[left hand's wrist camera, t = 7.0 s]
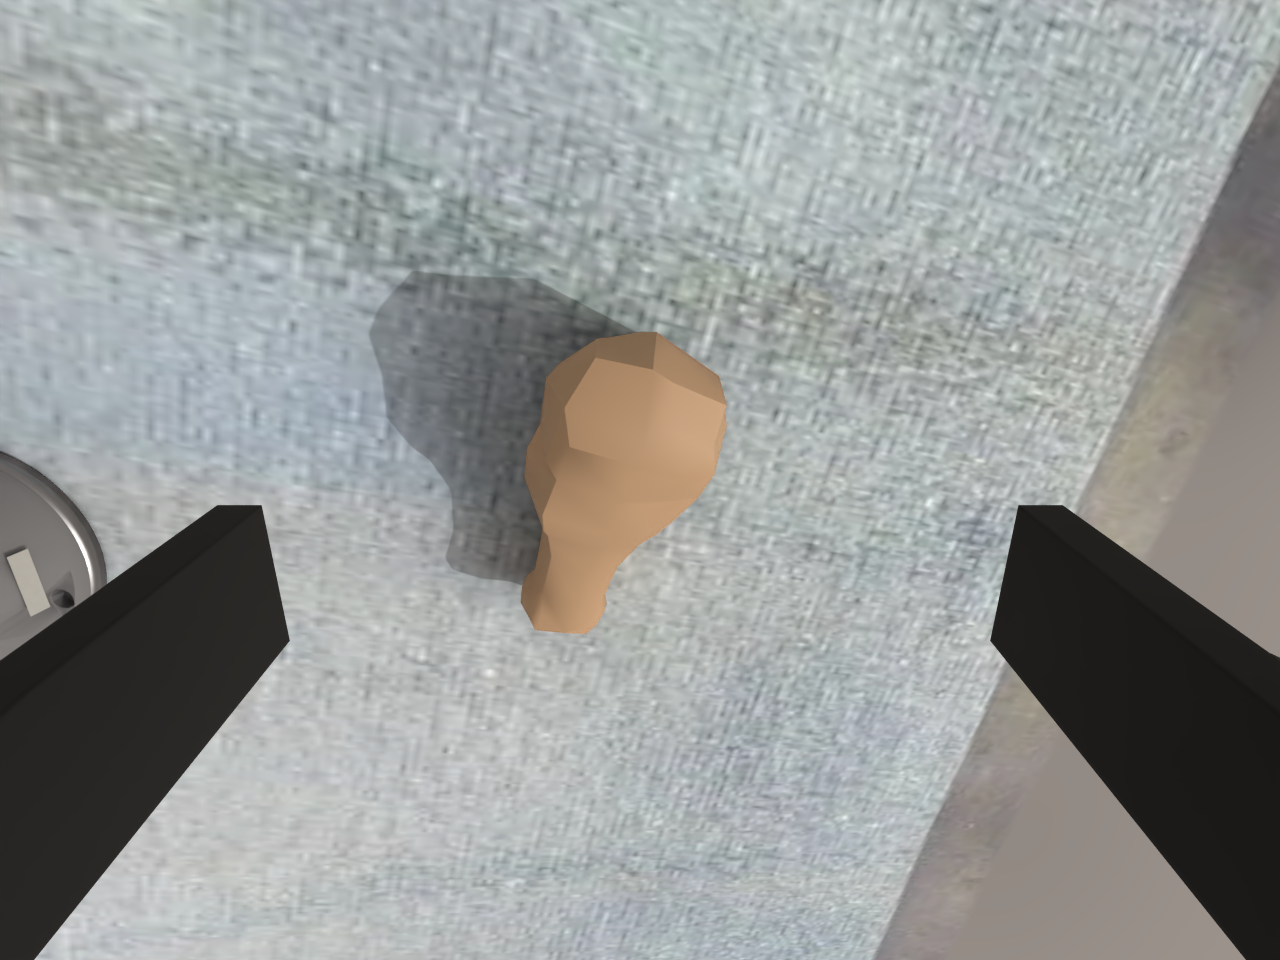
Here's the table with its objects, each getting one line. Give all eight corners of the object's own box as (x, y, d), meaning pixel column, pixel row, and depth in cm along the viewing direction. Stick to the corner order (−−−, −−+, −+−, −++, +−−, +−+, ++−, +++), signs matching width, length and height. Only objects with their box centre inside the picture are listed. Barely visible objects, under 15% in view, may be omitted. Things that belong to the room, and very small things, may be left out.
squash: (741, 335, 42) (787, 399, 34) (636, 593, 51) (654, 689, 44) (562, 283, 39) (569, 342, 31) (485, 567, 48) (476, 665, 41)
